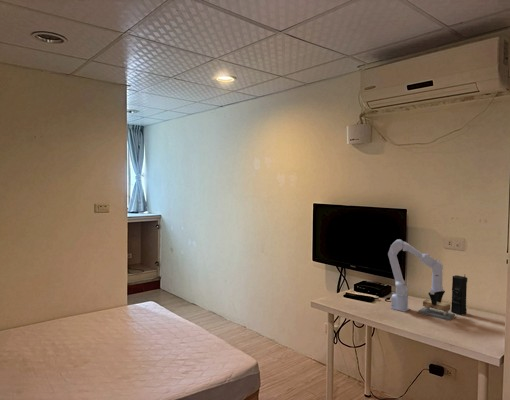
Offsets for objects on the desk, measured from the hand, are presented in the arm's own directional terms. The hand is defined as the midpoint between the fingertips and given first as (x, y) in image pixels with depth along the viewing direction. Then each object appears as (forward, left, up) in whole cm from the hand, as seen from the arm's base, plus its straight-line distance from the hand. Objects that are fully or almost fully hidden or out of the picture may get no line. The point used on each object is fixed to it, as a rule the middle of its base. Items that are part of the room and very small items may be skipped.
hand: (436, 303), depth 226 cm
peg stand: (0, 0, -7) cm, 7 cm away
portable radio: (+8, +13, -7) cm, 17 cm away
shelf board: (0, 0, -3) cm, 3 cm away
